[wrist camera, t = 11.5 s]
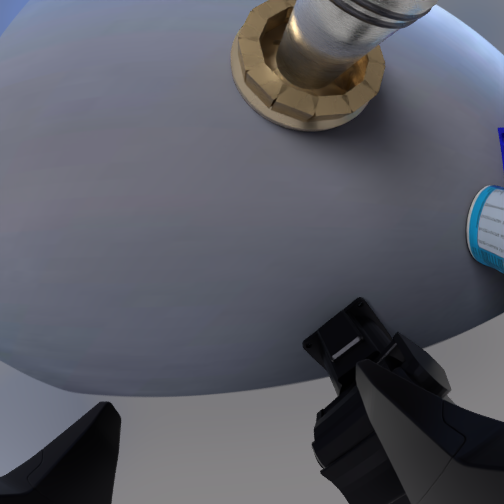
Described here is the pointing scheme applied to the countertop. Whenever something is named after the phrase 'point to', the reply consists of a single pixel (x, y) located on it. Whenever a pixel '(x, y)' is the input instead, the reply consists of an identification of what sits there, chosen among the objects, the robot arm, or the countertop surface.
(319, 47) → the cylinder
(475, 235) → the beverage bottle
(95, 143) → the countertop surface
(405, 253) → the countertop surface
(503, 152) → the blue curved cradle
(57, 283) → the countertop surface
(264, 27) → the ring collar
